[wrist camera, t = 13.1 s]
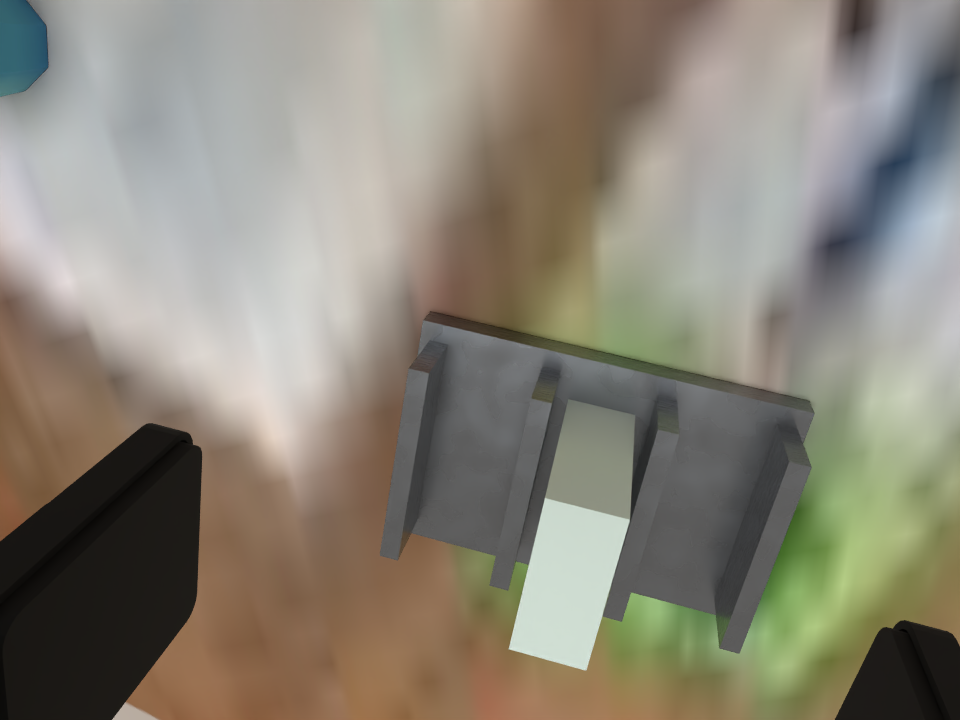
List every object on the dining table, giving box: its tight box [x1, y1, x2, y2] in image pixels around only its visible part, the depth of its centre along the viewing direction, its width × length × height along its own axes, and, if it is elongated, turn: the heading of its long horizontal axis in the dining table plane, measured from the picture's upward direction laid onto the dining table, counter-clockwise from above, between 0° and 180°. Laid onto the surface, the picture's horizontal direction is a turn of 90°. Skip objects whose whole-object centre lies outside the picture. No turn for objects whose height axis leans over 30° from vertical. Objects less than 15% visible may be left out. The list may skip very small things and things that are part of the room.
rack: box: [380, 311, 814, 654], centre depth 43 cm, size 13×20×6 cm, turn 80°
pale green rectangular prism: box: [509, 399, 635, 670], centre depth 39 cm, size 8×4×10 cm, turn 170°
